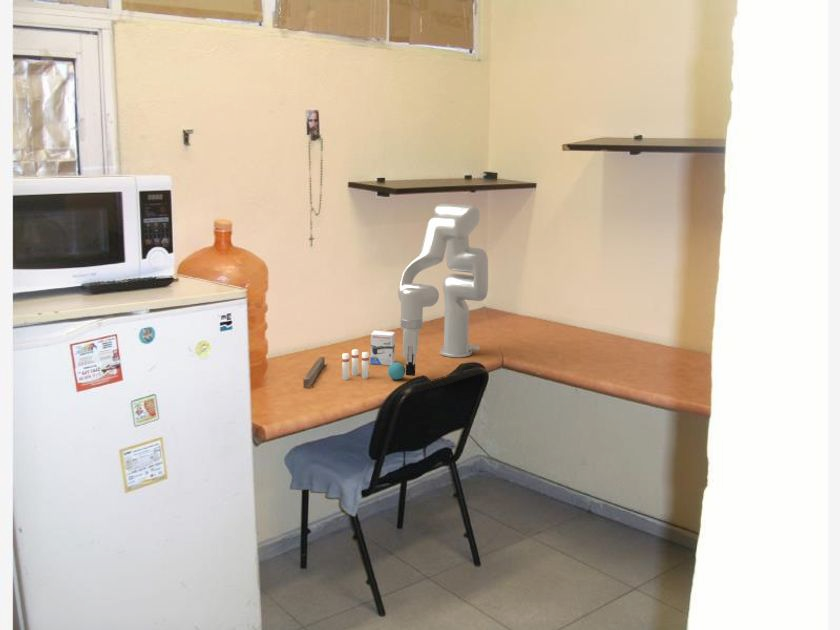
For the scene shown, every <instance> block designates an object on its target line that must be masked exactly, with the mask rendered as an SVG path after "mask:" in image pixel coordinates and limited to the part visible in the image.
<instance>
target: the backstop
mask: <svg viewBox="0 0 840 630" xmlns="http://www.w3.org/2000/svg"><path fill="white" fill-rule="evenodd" d="M325 360H326V359H325V356H318V358H317V359H316V361H314V363H313V365H312V366H311V367H310V369H309V370H308V372H307V374H306V375H305V376H304V378H302V379H303V381H302V382H303V389H306V388H307V389H309V388H311V386H312V384H313V383H314V382H315V380H316V379H317V377H318V376H319V374H320V373H321V371H322V369H323V368H324V366H325V363H326V361H325ZM317 375H318V376H317Z"/></svg>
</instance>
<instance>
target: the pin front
mask: <svg viewBox="0 0 840 630" xmlns="http://www.w3.org/2000/svg"><path fill="white" fill-rule="evenodd" d="M369 356H370V352H369V351H362V352H361V379H369V378H370V377H369V375H370V374H369V373H370V372H369V369H370V366H369V364H370V357H369Z"/></svg>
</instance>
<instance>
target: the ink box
mask: <svg viewBox="0 0 840 630" xmlns="http://www.w3.org/2000/svg"><path fill="white" fill-rule="evenodd" d="M395 347H396V332H394V331H383V330H373V331H372V332H371V334H370V365H379V366H380V365H381V366H390V365H391V364H393V363H396V361H395V359H396V358H395V356H396V353H395V351H396V350H395V349H396V348H395Z"/></svg>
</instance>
